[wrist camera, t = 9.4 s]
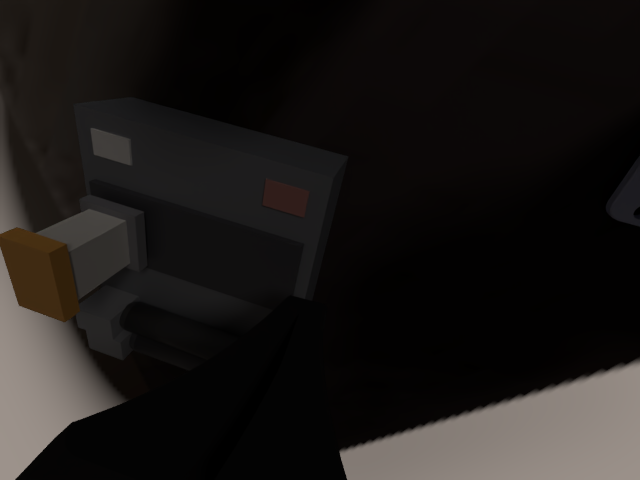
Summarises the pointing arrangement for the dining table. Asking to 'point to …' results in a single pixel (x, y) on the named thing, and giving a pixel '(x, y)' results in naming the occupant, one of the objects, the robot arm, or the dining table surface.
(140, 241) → the breaker toggle
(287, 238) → the breaker box
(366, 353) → the dining table surface
